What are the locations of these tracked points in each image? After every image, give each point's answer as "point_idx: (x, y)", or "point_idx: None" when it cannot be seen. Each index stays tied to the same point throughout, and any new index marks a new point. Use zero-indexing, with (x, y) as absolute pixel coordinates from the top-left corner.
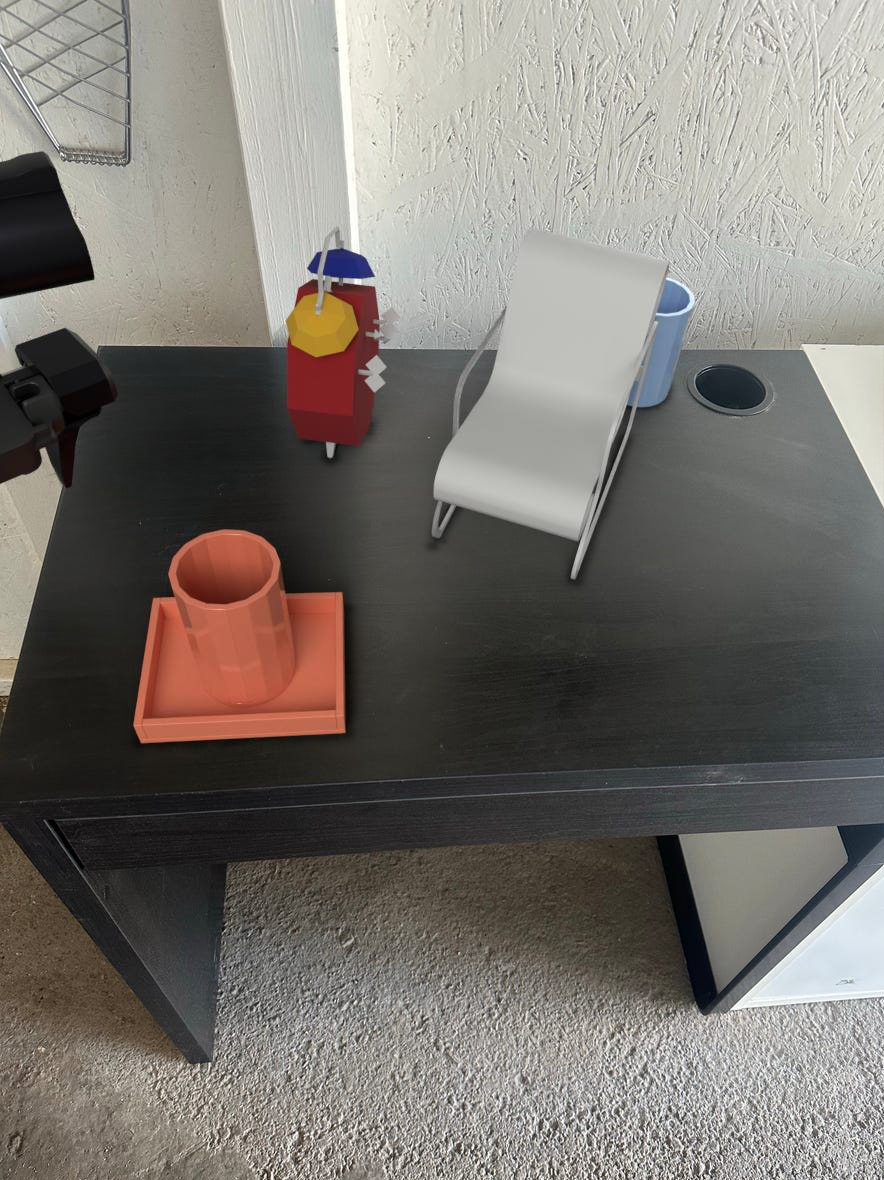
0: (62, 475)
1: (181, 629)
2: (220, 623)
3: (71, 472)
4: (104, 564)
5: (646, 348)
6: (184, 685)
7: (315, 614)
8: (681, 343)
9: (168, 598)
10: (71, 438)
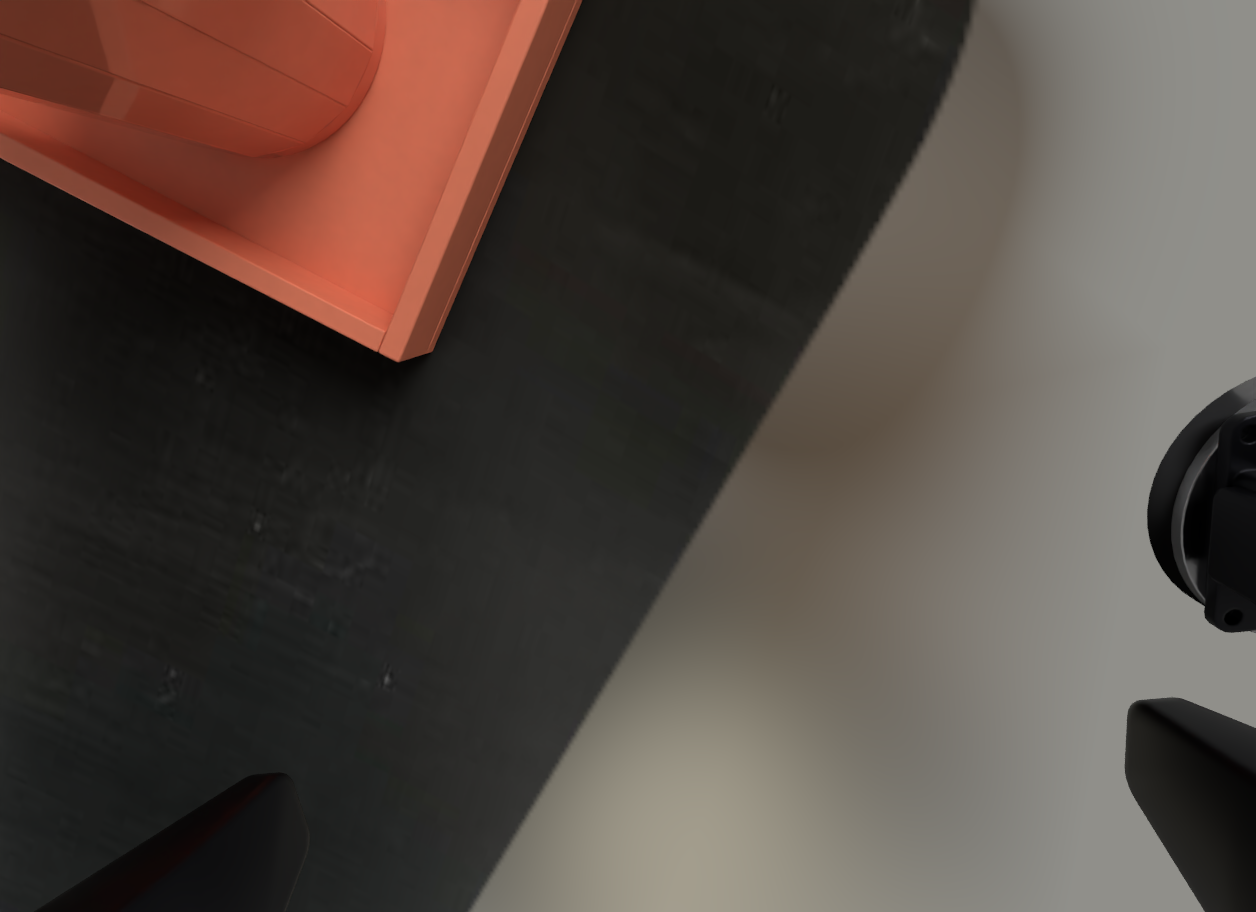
0: (182, 865)
1: (384, 262)
2: None
3: (119, 862)
4: (509, 597)
5: None
6: (436, 41)
7: (4, 107)
8: None
9: (356, 336)
10: None
